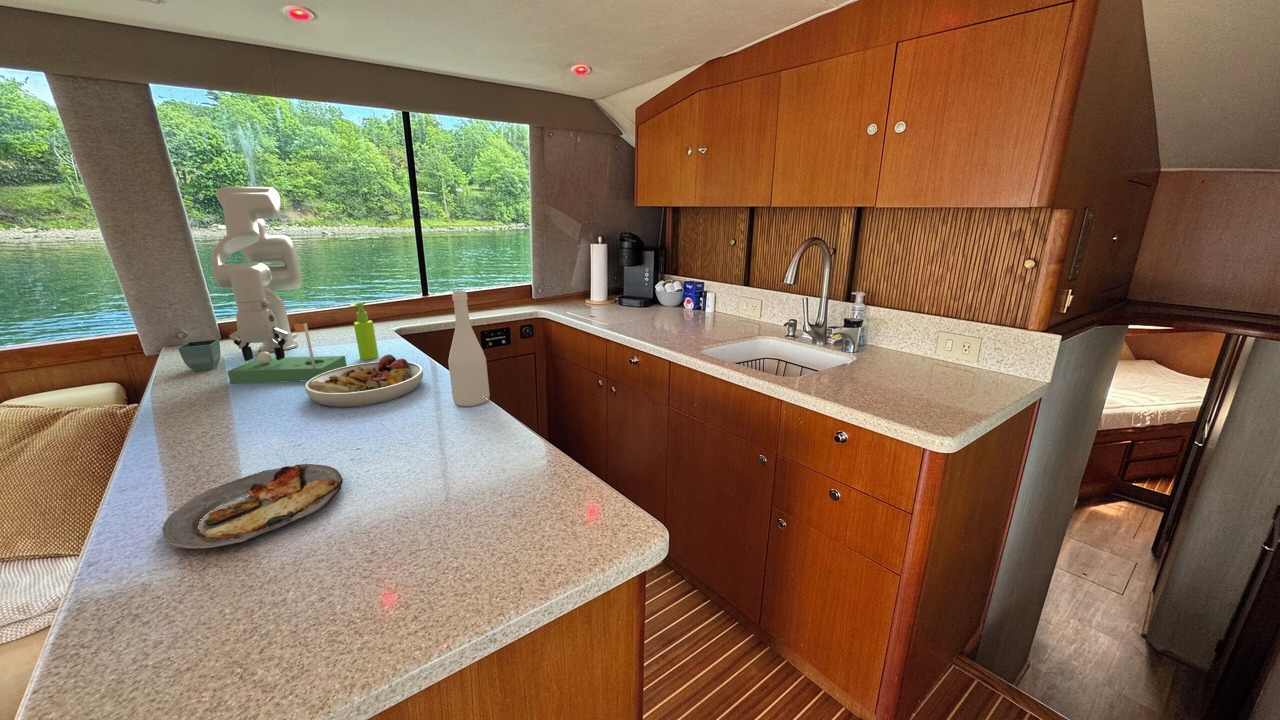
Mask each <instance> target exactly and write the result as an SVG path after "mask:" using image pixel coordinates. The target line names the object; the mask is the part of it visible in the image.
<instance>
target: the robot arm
mask: <svg viewBox="0 0 1280 720" xmlns="http://www.w3.org/2000/svg"><path fill="white" fill-rule="evenodd" d="M216 198H217V201H218V202H219V204H220V205H221V207H222V209H223V215H224V223H225V231H226V235H225V236H224V237H222V239H220V241H219V242H217V244H216V245H215V247H214V249H213V250H212V254H211V265H212V272H213V273H212V275H213V278H214V282H215V284H216V285H217V286H218V287H220V288H222V289H226V290H228V289H230V290H231V289H232V293H233V296H234V299H235V304H236V309H237V311H236V327H237V330H235V331H234V332H232V333H230V334H229V335H228V336H229V338H230V340H231V341H233V344H235V345H236V346H237V347H238V349H240V350H241V353H242V357H243V360H244V361H245V362H248V361H249V362H250V361H252V360H254V354H253V349H252V347H251V346H250V344H261V343H262V345H260V346H259V347H258V351H259V352H264V351H266V352H269V353H273V352H274V355H275V358H276V359H277V360H281V359H283V358H285V357H286V353H285V351H286V350H291V349H295V348H297V347H298V346H299V343H298V342H297V341H294V339H295V338H298V334H297V332H293V333H292V332H291V327H290V323H289V320H288V314H287V311H286V310H287V309H286V304H285V302H284V300H283V299H282V297H280V296H279V295H277V294H276V293H275V292H279V291H292V290H298V289H300V288H302V285H303V279H302V275H301V274H302V273H301V269H300V264H299V260H298V255H297V252H296V247H295V244H294V242H293V239H291V238H290V237H289V236H287V235H283V234H282V235H281V234H277V235H275V234H274V235H269V234H268V231H267V228H266V223H265V221H264V220H271V219H272V220H273V219H277V218H279V216H280V211H281V204H282V203H281V198H280V195H279V193H278V191H277V190H276V189H275V188H273V187H270V186H223V187H220V188H218V189H217V190H216ZM239 251H242V254H243V257H244V258H245V260H247V261H248V262H249V263H248V262H247V263H226V260H227V259H228V258H229V257H230V256H231V255H233V254H234V253H237V252H239ZM272 262H273V263H276V262H281V263H283V264H273V265H271V264H269V265H266V264H264V263H272ZM225 263H226V264H225Z"/></svg>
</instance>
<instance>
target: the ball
mask: <svg viewBox="0 0 1280 720" xmlns="http://www.w3.org/2000/svg"><path fill="white" fill-rule="evenodd" d="M273 358H274V357H273V355H272V352H266V351H264V352H261V351H259V353H257V356H256V359H257V360H258V361H259V362H260V363H262V364H268V363H270V362H271V361H272V359H273Z"/></svg>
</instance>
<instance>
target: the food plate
mask: <svg viewBox="0 0 1280 720" xmlns="http://www.w3.org/2000/svg"><path fill="white" fill-rule="evenodd" d="M343 481H344V479H343V477H342V474H341V473H340V472H339V470H338V469H336V468H334V467H331V466H328V465H325V464H324V465H321V464H312V463H302V464H300V463H299V464H295V465H285V466H281V467H279V468H273V469H266V470H262V471H258V472H257V473H253V474H249V475H247V476H243V477H241V478H237V479H235V480H232V481H230V482H226V483H225V484H221V485H219V486H217V487H213V488H210V489H208V490H206V491H204V492H202V493H200V494H198V495H196V496H195V497H193V498H191V499H190V500H188V501H187V502H185V503H183V504H182V506H181V507H179V508H178V509H177V510H175V511H174V512H173V513H171V514H170V515H169V516H168V517H167V519H166V520H165V521H164V524H163V527H161V529H162V534H163V536H164V538H165V540H166V541H167V543H168V545H170V546H172V547H176V548H183V549H195V550H196V549H207V548H217V547H221V546H228V545H233V544H238V543H243V542H245V541H247V540H249V539H252V538H255V537H257V536H260V535H262V534H265V533H267V532H270V531H273V530H276V529H279V528H281V527H283V526H286V525H287V524H291V523H292V522H294V521H297V520H298V519H301V518H304V517H305V516H309V515H312V514H313V513H315V512H316V511H319V510H321V509H322V508H324V507H325V506H327V505H328V504H329V503H330V502H331V501H332V500H333V499H334V497H336V495H337V494H338V493H339V492H340V490H342V485H343ZM240 498H243V499H240ZM237 499H240V500H239V502H236V503H234V504H228V505H227V506H226V507H224V508H220V509H219V508H218V509H217V510H215V509H214V508H216V507H218V506H220V505H221V504H222V505H224V504H227V503H229V502H231V501H236V500H237ZM223 503H224V504H223ZM213 509H214V510H213ZM210 510H212V511H213V512H210ZM208 512H210V513H208ZM207 513H208V514H209V515H208V514H207ZM205 514H207V516H208V517H207V518H206V519H205V520H204V521H203V523H204V524H203V525H204V526H205V527H206V528H207V527H209V528H211V526H212V527H213V528H211V529H209V530H206V531H205V530H204V531H203V532H202V531H201V532H202V533H203V534H202V533H201V532H200V530H201V529H200V530H199V529H198V525H199V521H201V520H200V519H202V518H203V516H205ZM203 519H204V518H203ZM203 519H202V520H203ZM231 520H233V521H231ZM229 521H230V522H229ZM201 522H202V521H201ZM226 522H228V523H226ZM224 523H225V524H224ZM220 524H223V525H220ZM218 525H219V526H218ZM199 526H200V525H199ZM215 526H216V527H215Z"/></svg>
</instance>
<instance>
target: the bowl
mask: <svg viewBox="0 0 1280 720" xmlns="http://www.w3.org/2000/svg"><path fill="white" fill-rule="evenodd" d="M423 369H424V368H423V367H422V365H420V364H418V363H415V362H411V361H407V360H406V359H404V358H399V359H397V358H396V357H395V356H393V355H392V354H386V355H384V356H382V357H381V358H380V359H379V361H370V362H364V363H357V364H352V365H347V366H346V367H342V368H338V369H334V370H331V371H328V372H325V373H322V374H320V375H317V376H315V377H313V378H312V379H310V380H309V381H306V382H305V385H304V388H305V392H306V394H307V396H308V397H309V398H310V399H311V400H312V401H313V402H315V403H317V404H320V405H323V406H327V407H332V408H333V407H334V408H352V407H353V406H355V407H363V406H369V405H375V404H376V405H377V404H379V403H380V402H381V403H385V402H387V401H388V400H389V401H391V400H395V399H397V398H401V397H402V396H405V395H407V394H409V393H410V392H412V391H413V390H415V389H417V387H419V385H420V384H421V383H422V380H423V378H424V370H423ZM400 396H401V397H400ZM381 403H380V404H381Z"/></svg>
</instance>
